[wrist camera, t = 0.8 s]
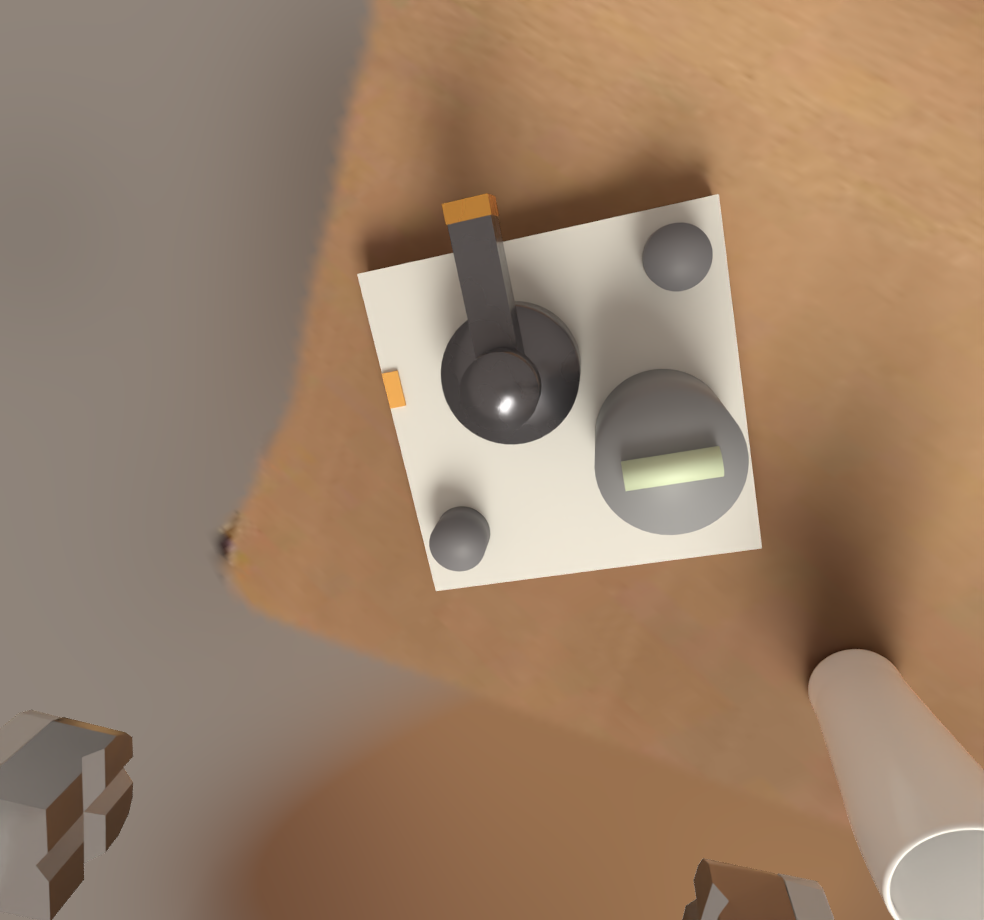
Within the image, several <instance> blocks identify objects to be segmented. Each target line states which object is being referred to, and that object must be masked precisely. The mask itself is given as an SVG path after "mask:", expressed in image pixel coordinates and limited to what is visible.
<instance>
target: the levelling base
mask: <svg viewBox="0 0 984 920" xmlns="http://www.w3.org/2000/svg"><path fill="white" fill-rule="evenodd" d="M503 245H504V250H505V255H506V260H507V265H508V270H509V275H510V280H511V286H512V291H513V296H514V301H522V302H529V303H533V304H536V305H539V306H541V307H544V308H546V309H547V310H549V311H551V312H553V313H554V314H555V315H556V316H558V317H559V318H560V319H561V320H562V321H563V322H564V323H565V324H566V326H567V327H568V328H569V330H570V331H571V333H572V334H573V336H574V338H575V340H576V343H577V345H578V349H579V353H580V358H581V375H580V382H579V388H578V393H577V397H576V400H575V402H574V405H573V407H572V409H571V411H570V412H569V414H568V415H567V417H566V418H565V419H564V420H563V422H562V423H561V424H560V425H559V426H558V427H557V428H556V429H554V430H553V431H552V432H550V433H549V434H547V435H545V436H544V437H542V438H540V439H537V440H535V441H532V442H528V443H524V444H515V445H512V444H500V443H495V442H491V441H488V440H485V439H483V438H481V437H479V436H477V435H475V434H474V433H472V432H471V431H469V430H468V429H467V428H465V427H464V426H463V425H462V424H461V423H460V422H459V421H458V419H457V418H456V417H455V416H454V414H453V413H452V411H451V410H450V408H449V406H448V404H447V402H446V399H445V397H444V393H443V390H442V384H441V363H442V359H443V354H444V352H445V349H446V346H447V344H448V342H449V341H450V339H451V337H452V336H453V334H454V333H455V332H456V330H457V329H458V328H459V327H460V326H461V325H462V324H463V323H464V322H466V321H467V320H468V319H467V314H466V310H465V305H464V300H463V296H462V291H461V286H460V282H459V277H458V272H457V268H456V263H455V258H454V254H453V253H450V254H446V255H441V256H437V257H432V258H428V259H423V260H419V261H414V262H410V263H405V264H401V265H396V266H392V267H387V268H382V269H378V270H373V271H369V272H364V273H360V274H357V275H358V279H359V283H360V287H361V291H362V295H363V299H364V303H365V307H366V311H367V315H368V319H369V323H370V327H371V331H372V335H373V339H374V343H375V347H376V351H377V355H378V360H379V364H380V368H381V372H382V377H383V381H384V385H385V389H386V393H387V397H388V401H389V405H390V409H391V412H392V416H393V420H394V424H395V428H396V432H397V436H398V440H399V444H400V448H401V452H402V456H403V460H404V464H405V468H406V472H407V476H408V480H409V484H410V488H411V492H412V496H413V500H414V504H415V508H416V512H417V517H418V521H419V525H420V529H421V533H422V537H423V541H424V545H425V549H426V553H427V557H428V561H429V565H430V569H431V573H432V577H433V581H434V585H435V589H436V591H440V590H448V589H455V588H463V587H471V586H478V585H486V584H493V583H501V582H509V581H516V580H524V579H532V578H539V577H547V576H554V575H562V574H570V573H577V572H585V571H593V570H600V569H608V568H615V567H623V566H631V565H638V564H646V563H654V562H661V561H669V560H676V559H684V558H692V557H699V556H707V555H715V554H722V553H730V552H737V551H745V550H753V549H760V548H762V544H761V536H760V527H759V519H758V511H757V503H756V495H755V486H754V478H753V470H752V462H751V454H750V445H749V437H748V429H747V421H746V413H745V405H744V396H743V388H742V380H741V372H740V364H739V355H738V347H737V339H736V331H735V323H734V314H733V306H732V298H731V290H730V282H729V273H728V265H727V257H726V249H725V241H724V233H723V224H722V216H721V208H720V200H719V194H717V195H712V196H708V197H703V198H699V199H694V200H690V201H685V202H681V203H676V204H672V205H667V206H663V207H658V208H654V209H649V210H645V211H640V212H636V213H631V214H626V215H622V216H617V217H613V218H608V219H604V220H599V221H595V222H590V223H586V224H581V225H577V226H572V227H568V228H563V229H559V230H554V231H550V232H545V233H541V234H536V235H532V236H527V237H523V238H518V239H514V240H509V241H504V242H503Z"/></svg>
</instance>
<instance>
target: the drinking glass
mask: <svg viewBox="0 0 984 920" xmlns="http://www.w3.org/2000/svg"><path fill="white" fill-rule="evenodd" d="M808 695H809V699H810V703H811V705H812V708H813V710H814V712H815V714H816V716H817V719H818V722H819V725H820V728H821V731H822V734H823V737H824V740H825V743H826V747H827V750H828V753H829V756H830V760H831V763H832V766H833V769H834V773H835V776H836V779H837V782H838V786H839V789H840V792H841V796H842V799H843V802H844V805H845V809H846V812H847V815H848V818H849V821H850V825H851V827H852V830H853V833H854V836H855V838H856V841H857V844H858V846H859V849H860V851H861V854H862V856H863V858H864V860H865V862H866V865H867V867H868V870H869V872H870V874H871V876H872V878H873V880H874V882H875V884H876V886H877V888H878V890H879V892H880V894H881V896H882V898H883V900H884V902H885V904H886V907H887V909H888V911H889V912H890V914H891V915H892V917H893V918H894V919H895V920H984V769H983V768H982V767H981V766H980V765H979V764H978V762H977V761H976V760H975V759H974V758H973V757H972V756H971V754H970V753H969V752H968V751H967V750H966V749H965V748H964V747H963V746H962V744H961V743H960V742H959V741H958V740H957V739H956V738H955V737H954V736H953V734H952V733H951V732H950V731H949V730H948V729H947V728H946V727H945V726H944V724H943V723H942V722H941V721H940V720H939V719H938V718H937V717H936V715H935V714H934V713H933V712H932V711H931V710H930V709H929V708H928V706H927V705H926V704H925V703H924V702H923V701H922V700H921V698H920V697H919V696H918V695H917V694H916V693H915V692H914V690H913V689H912V688H911V687H910V686H909V685H908V683H907V682H906V681H905V679H904V678H903V676H902V675H901V674H900V672H899V671H898V669H897V668H896V667H895V666H894V665H893V664H892V663H891V662H890V661H889V660H888V659H886V658H885V657H883V656H882V655H880V654H877V653H875V652H872V651H869V650H863V649H848V650H843V651H839V652H836V653H834V654H832V655H830V656H828V657H826V658H825V659H824V660H822V661H821V662H820V663H819V664H818V665H817V666H816V668H815V669H814V671H813V672H812V674H811V677H810V680H809V684H808Z"/></svg>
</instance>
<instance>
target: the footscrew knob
mask: <svg viewBox="0 0 984 920" xmlns="http://www.w3.org/2000/svg"><path fill="white" fill-rule="evenodd" d="M442 209H443V213H444V218H445V223H446V225H447V226H448V230H449V235H450V240H451V244H452V249H453V254H454V258H455V263H456V268H457V272H458V277H459V282H460V286H461V291H462V296H463V300H464V305H465V310H466V314H467V319H468V320H467V321H466V322H464V323H463V324H462V325H461V326H460V327H459V328H458V329H457V330H456V332H455V333H454V334H453V336H452V337H451V339H450V341H449V342H448V344H447V346H446V349H445V352H444V354H443V359H442V363H441V384H442V390H443V393H444V397H445V399H446V402H447V404H448V406H449V408H450V410H451V411H452V413H453V414H454V416H455V417H456V418H457V419H458V421H459V422H460V423H461V424H462V425H463V426H464V427H465V428H467V429H468V430H469V431H471V432H472V433H474V434H475V435H477V436H479V437H481V438H483V439H485V440H488V441H491V442H495V443H500V444H512V445H515V444H524V443H528V442H532V441H535V440H537V439H540V438H542V437H544V436H545V435H547V434H549V433H550V432H552V431H553V430H554V429H556V428H557V427H558V426H559V425H560V424H561V423H562V422H563V420H564V419H565V418H566V417H567V415H568V414H569V412H570V411H571V409H572V407H573V405H574V402H575V400H576V397H577V393H578V388H579V382H580V375H581V358H580V353H579V349H578V345H577V343H576V340H575V338H574V336H573V334H572V333H571V331H570V330H569V328H568V327H567V326H566V324H565V323H564V322H563V321H562V320H561V319H560V318H559V317H558V316H556V315H555V314H554V313H553V312H551V311H549V310H547V309H546V308H544V307H541V306H539V305H536V304H533V303H529V302H522V301H514V296H513V291H512V286H511V280H510V275H509V270H508V265H507V260H506V255H505V250H504V245H503V240H502V235H501V230H500V225H499V219H498V216H499V213H498V208H497V203H496V198H495V196H493V195H491V194H488V193H486V194H482V195H478V196H474V197H469V198H465V199H461V200H457V201H452V202H448V203H444V204H442Z"/></svg>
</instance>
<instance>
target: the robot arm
mask: <svg viewBox="0 0 984 920" xmlns="http://www.w3.org/2000/svg"><path fill="white" fill-rule="evenodd" d="M132 757H133V740H132V737H131V736H130V735H129V734H127V733H126V732H123V731H118V730H114V729H110V728H106V727H102V726H98V725H94V724H90V723H86V722H82V721H78V720H74V719H70V718H66V717H62V718H61V717H58V716H54V715H50V714H46V713H42V712H38V711H34V710H29V711H25V712H22V713H19V714H18V715H16V716H15V717H14V718H13V719H11V720H10V721H9V722H8V723H6V724H5V725H4V726H3V727H2V728H0V912H3V913H8V914H13V915H18V916H22V917H27V918H32V919H37V920H52V919H53V918H54V917H55V916H56V914H57V913H58V912H59V911H60V909H61V908H62V907H63V906H64V904H65V903H66V902H67V900H68V899H69V898H70V897H71V895H72V894H73V893H74V892H75V891H76V889H77V888H78V887H79V886H80V884H81V883H82V882H83V881H84V863H86V862H88V861H90V860H92V859H94V858H96V857H98V856H100V855H102V854H104V853H106V851H107V850H108V849H109V847H110V846H111V845H112V843H113V842H114V840H116V838H117V837H118V836H119V834H120V831H121V829H122V827H123V825H124V823H125V821H126V819H127V817H128V815H129V811H130V807H131V803H132V798H133V782H132V780H131V778H130V777H129V775H128V774H127V772H126V771H125V769H124V766H125V765H126V764H127V763H128V762H129V761H130V760H131V758H132ZM694 886H695V893H696V899H695V900H694V901H693V902H691V903H689V904H688V905H686V907H685V911H684V915H683V919H682V920H834V917H833V914H832V912H831V909H830V906H829V904H828V901H827V898H826V896H825V893H824V890H823V888H822V887H821V886H820V885H819V883H818V882H817V881H813V880H808V879H803V878H798V877H793V876H788V875H784V874H775V873H771V872H767V871H762V870H757V869H752V868H748V867H743V866H738V865H733V864H729V863H724V862H719V861H714V860H709V859H704V858H703V859H702V860H701V862H700V864H699V865H698V867H697V871H696V874H695V877H694Z"/></svg>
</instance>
